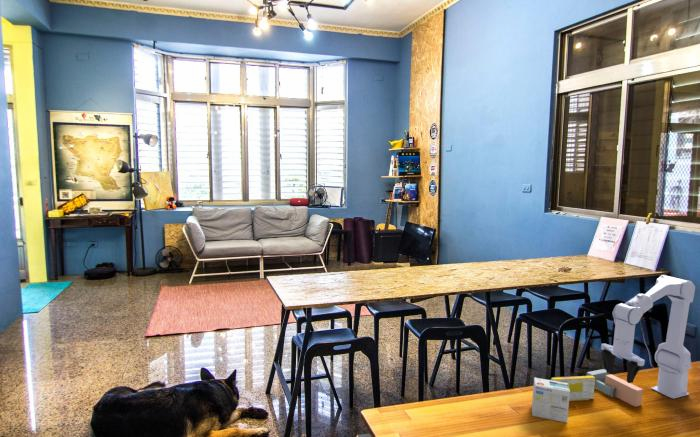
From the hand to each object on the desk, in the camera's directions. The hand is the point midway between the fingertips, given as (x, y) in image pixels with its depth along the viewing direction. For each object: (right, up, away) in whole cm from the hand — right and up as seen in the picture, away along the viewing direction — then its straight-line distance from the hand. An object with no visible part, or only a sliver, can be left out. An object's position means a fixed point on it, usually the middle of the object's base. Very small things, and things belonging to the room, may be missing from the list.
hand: (619, 377), depth 155 cm
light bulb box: (-27, -10, -7) cm, 30 cm away
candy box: (-15, -10, +4) cm, 18 cm away
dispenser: (+3, -9, +12) cm, 15 cm away
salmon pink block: (+5, -10, +7) cm, 13 cm away
